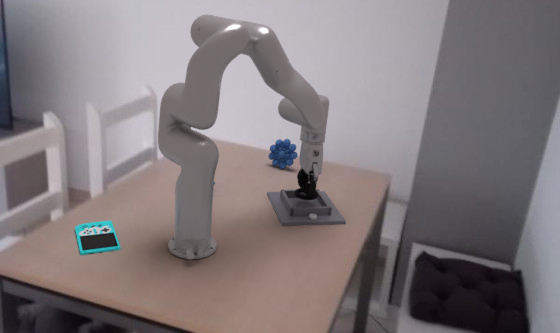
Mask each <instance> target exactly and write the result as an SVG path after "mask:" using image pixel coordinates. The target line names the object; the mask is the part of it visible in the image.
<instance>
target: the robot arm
mask: <svg viewBox="0 0 560 333" xmlns="http://www.w3.org/2000/svg"><path fill="white" fill-rule="evenodd" d="M190 38H191V40H192V42H193V44H194V45H196V47H197V49H196V50H195V51H194V53H193V54H192V55H191V57H190V59H189V61H188V63H187V68H186V73H185V80H184V82H176V83H173V84H172V85H171V84H170V85H169V86H168V88H167V89H166V90H165V92H164V93H163V94H162V95H163V96H162V97H161V101H160V107H159V118H158V132H157V145H158V149H159V152H160V154H161V155H163V157H164V158H166V159H167V160H170V161H171V162H173V163H174V164H176V165H178V166H179V167H180V172H179V175H178V176H177V179H176V182H175V189H174V190H175V192H174V195H175V197H174V198H175V199H174V200H175V202H174V203H175V204H174V236H172V237H171V238H170V240H169V241H168V243H167V244H168V246H167V247H168V250H169V252H170V253H171V254H173V255H174V256H176V257H177V258H181V259H187V260H198V259H199V260H200V259H204V258H207V257H210V256H211V255H213V254H214V253H215V251H217V241H216V240H215V239H214V238H213V237H212V223H213V221H212V220H213V204H214V202H213V200H214V185H215V184H214V182H215V176H216V175H215V174H216V171H217V167H218V162H219V159H220V158H219V157H220V152H219V148H218V146H217V144H216V142H214V140H212V139H211V138H210V137H209V136H207V135H205V134H202V133H201V132H198V131H197V130H200V131H205V130H209V129H211V128H212V127H213V126H214V125H215V123H216V122H217V119H218V118H217V117H218V113H219V106H220V95H221V89H222V88H221V86H222V81H223V76H224V72H225V70H226V69H227V67H228V66H229V64H231V62H232V61H234V59H236V58H237V57H238V56H239V55H244V56H248V57H249V58H250V60H251V61H252V63H253V64H254V66H255V67H256V69H257V71H258V73H259V74H260V76H261V78H262V80H263V82H264V84H265V85H266V86H267V87H269V88H270V89H272V90H273V91H274V92H275V93H277V94H279V95H280V96H282V97H283V98H282V99H281V100H280V101H279V103H278V106H277V112H278V114H279V116H280V118H282V119H283V120H285V121H287V122H289V123H293V124H296V125H298V126H301V127H300V137H299V140H300V141H301V145H300V151H299V152H300V153H299V166H300V168H299V171H300V170H301V169H304V172H305V173H306V174H307V182H306V189H305V194H306V195H315V193H316V189H317V184H318V181H319V180H318V179H319V177H320V176H319V175H322V173H323V172H322V171H323V164H324V163H323V162H324V161H323V160H324V143H325V140H326V133H327V124H328V116H329V111H330V110H329V108H330V99H329V98H328V96H325V95H322V94H319V93H318V92H317V91H316V90H315V88H314V87H313V86H312V84H310V82H308V81H307V80H306V78H304V77H303V76H302V74H300V73H299V72H298V71H297V70H296V69H295V68H294V67H293V64H292V63H291V62H290V59H289V57H288V56H287V54H286V51H285V50H284V48H283V46H282V44H281V42H280V40H279V38H278V36H277V34H276V33H275V31H274V30H273V29H272V28H271V27H269V26H268V25H265V24H262V23H261V24H260V23H257V22H251V21H248V20H242V19H232V18H226V17H223V16H216V15H213V14H212V15H211V14H203V15H200V16H197V17H196V19H194V21H193V22H192V23H191V26H190ZM192 128H193V129H192ZM194 129H197V130H194ZM309 171H313V173H309ZM310 175H313V177H311V179H310Z"/></svg>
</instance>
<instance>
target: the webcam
mask: <svg viewBox="0 0 560 333" xmlns="http://www.w3.org/2000/svg"><path fill="white" fill-rule="evenodd" d="M309 173H313V171H309ZM296 175H297V176H296V178H297V185H298V186H299V188H296V189H297V190H295V189H294V190H295V196H296V197H297V198H299V199H303V200H314V199H316V198H317V197H318V193H317V191H316V193H315V195H307V196H306V195H302V194H300V193H301V192H304V193H305V189H306V182H307V174H306V173H305V172H304V169H301V170H300V169H299V170H298V172H297V174H296ZM311 177H313V175H310V179H311Z"/></svg>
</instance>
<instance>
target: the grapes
mask: <svg viewBox="0 0 560 333" xmlns="http://www.w3.org/2000/svg"><path fill="white" fill-rule="evenodd" d="M291 143H292V142H291V139H288V138H285V139H284V140H282V139H281V138H278V139H277V140H276V141H275V144H272V145H270V146H269V151H270V152H269V154H268V159H269V160H270V161H272V162H271V165H272V166H274V167H279V169H281V170H284V169H285V168H286V167H287V166H288V167H291V166H293V165H294V160H296V159H297V158H298V152H297V151H296V150H297V145H296V144H294V143H292V144H291Z"/></svg>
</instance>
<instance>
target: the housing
mask: <svg viewBox="0 0 560 333" xmlns="http://www.w3.org/2000/svg"><path fill="white" fill-rule="evenodd" d="M297 189H298V188H296V189H280V191H266V196H267V197H268V200H269V201H270V203H271V206H272V208H273V210H274V212H275V214H276V216H277V218H278V221H279V222H280V225H281V226H312V225H316V226H317V225H345V224H346V222H347V221H346V219H345V217H344V216H343V214H342V213H341V212H340V211H339V209H338V208H337V207H336V205H335V203H333V201H332V200H331V199H330V197H329V195H328V194H327V193H326V191H325V190H320V189H318V188H316V191H317V193H318V197H317V198H316V199H314V200H303V199H299V198H297V197H296V196H295V190H297ZM300 194H302V195H306V194H305V193H304V192H301V193H300ZM306 196H307V195H306Z"/></svg>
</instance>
